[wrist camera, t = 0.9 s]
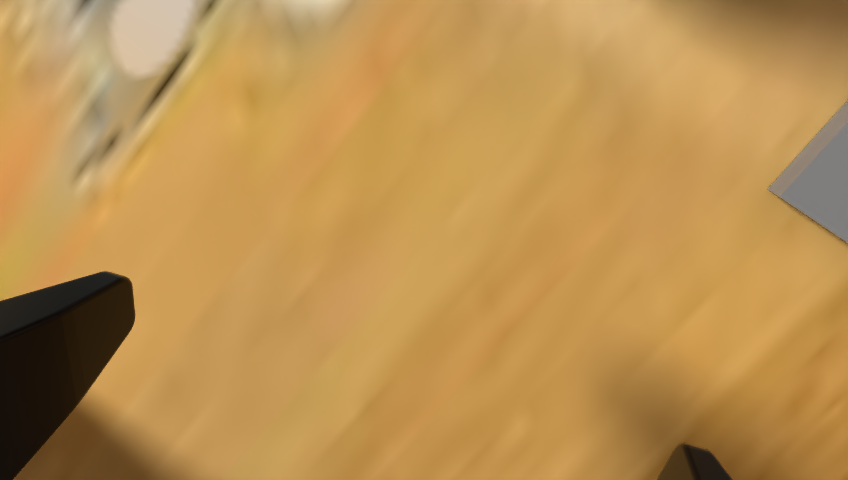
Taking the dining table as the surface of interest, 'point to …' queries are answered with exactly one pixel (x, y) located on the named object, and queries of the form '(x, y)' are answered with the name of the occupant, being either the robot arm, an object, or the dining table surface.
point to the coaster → (821, 177)
